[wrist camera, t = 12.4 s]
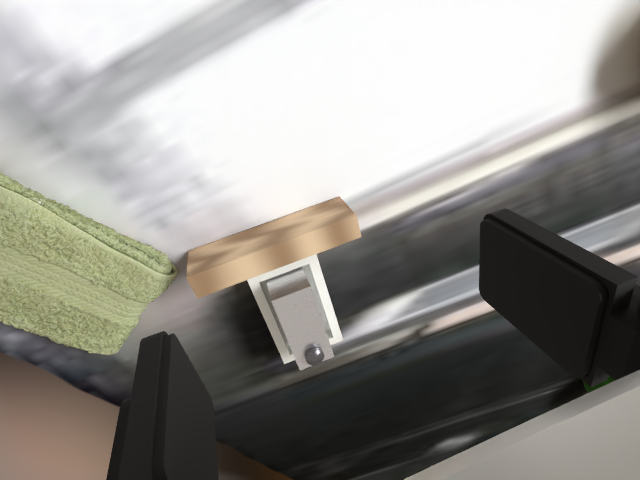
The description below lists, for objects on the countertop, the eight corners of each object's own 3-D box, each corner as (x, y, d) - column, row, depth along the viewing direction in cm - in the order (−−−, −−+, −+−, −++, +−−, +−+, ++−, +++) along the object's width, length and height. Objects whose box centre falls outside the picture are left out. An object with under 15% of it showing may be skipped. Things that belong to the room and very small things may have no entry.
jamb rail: (198, 270, 38) (197, 298, 34) (188, 250, 37) (186, 277, 32) (344, 216, 40) (361, 236, 35) (339, 196, 38) (356, 215, 34)
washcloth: (-19, 150, 29) (-43, 161, 26) (185, 258, 37) (183, 275, 35) (-92, 274, 31) (-120, 296, 29) (115, 349, 40) (108, 371, 37)
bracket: (281, 353, 46) (284, 364, 44) (244, 269, 39) (246, 278, 38) (338, 330, 47) (343, 340, 45) (311, 244, 40) (315, 252, 39)
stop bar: (299, 261, 40) (312, 289, 35) (321, 327, 45) (335, 360, 40) (264, 274, 40) (272, 305, 35) (290, 339, 45) (301, 374, 40)
